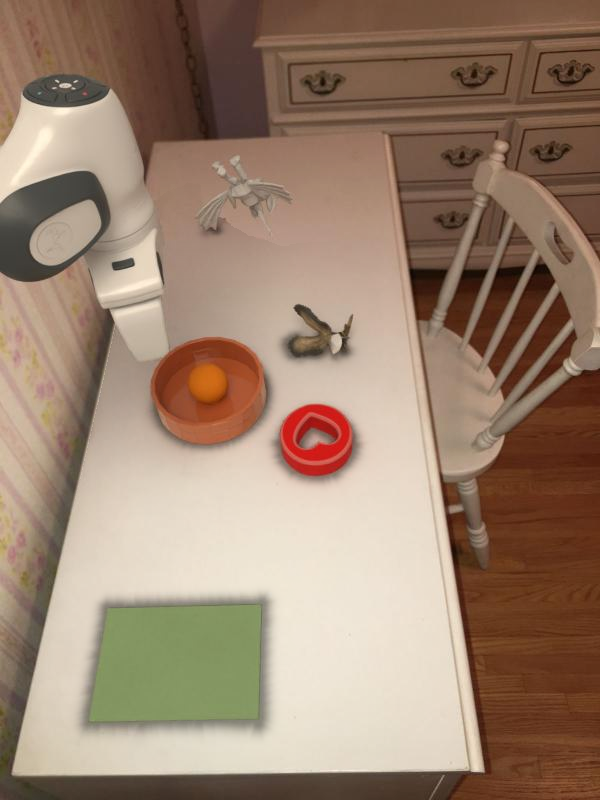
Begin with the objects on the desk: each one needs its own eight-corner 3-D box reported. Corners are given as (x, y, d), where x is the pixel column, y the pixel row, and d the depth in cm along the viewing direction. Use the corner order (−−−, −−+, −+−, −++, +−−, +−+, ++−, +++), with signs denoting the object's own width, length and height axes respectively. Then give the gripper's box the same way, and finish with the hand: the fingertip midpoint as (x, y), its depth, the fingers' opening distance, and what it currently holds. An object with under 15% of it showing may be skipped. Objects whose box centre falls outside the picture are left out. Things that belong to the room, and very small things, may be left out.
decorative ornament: (322, 404, 91) (322, 391, 89) (366, 449, 86) (367, 437, 84) (267, 439, 88) (265, 427, 86) (309, 489, 83) (309, 477, 81)
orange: (207, 419, 90) (199, 394, 85) (184, 395, 93) (176, 370, 88) (238, 397, 92) (233, 372, 87) (215, 374, 95) (209, 348, 90)
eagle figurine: (350, 318, 99) (293, 306, 99) (356, 310, 92) (294, 297, 92) (341, 366, 99) (283, 354, 98) (345, 362, 92) (283, 349, 91)
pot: (199, 465, 86) (193, 447, 83) (137, 395, 94) (129, 376, 90) (288, 401, 92) (286, 382, 88) (223, 340, 99) (218, 320, 96)
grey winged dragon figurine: (309, 227, 110) (271, 177, 98) (220, 256, 117) (174, 212, 105) (307, 181, 114) (270, 127, 102) (220, 212, 121) (176, 165, 109)
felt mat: (89, 722, 68) (88, 721, 68) (108, 608, 75) (107, 608, 75) (258, 719, 68) (258, 718, 67) (261, 605, 75) (261, 604, 74)
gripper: (79, 183, 72) (114, 275, 83) (98, 310, 60) (137, 397, 71) (135, 171, 73) (163, 263, 84) (165, 294, 61) (193, 382, 72)
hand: (151, 326), depth 77 cm, fingers open, 8 cm apart
